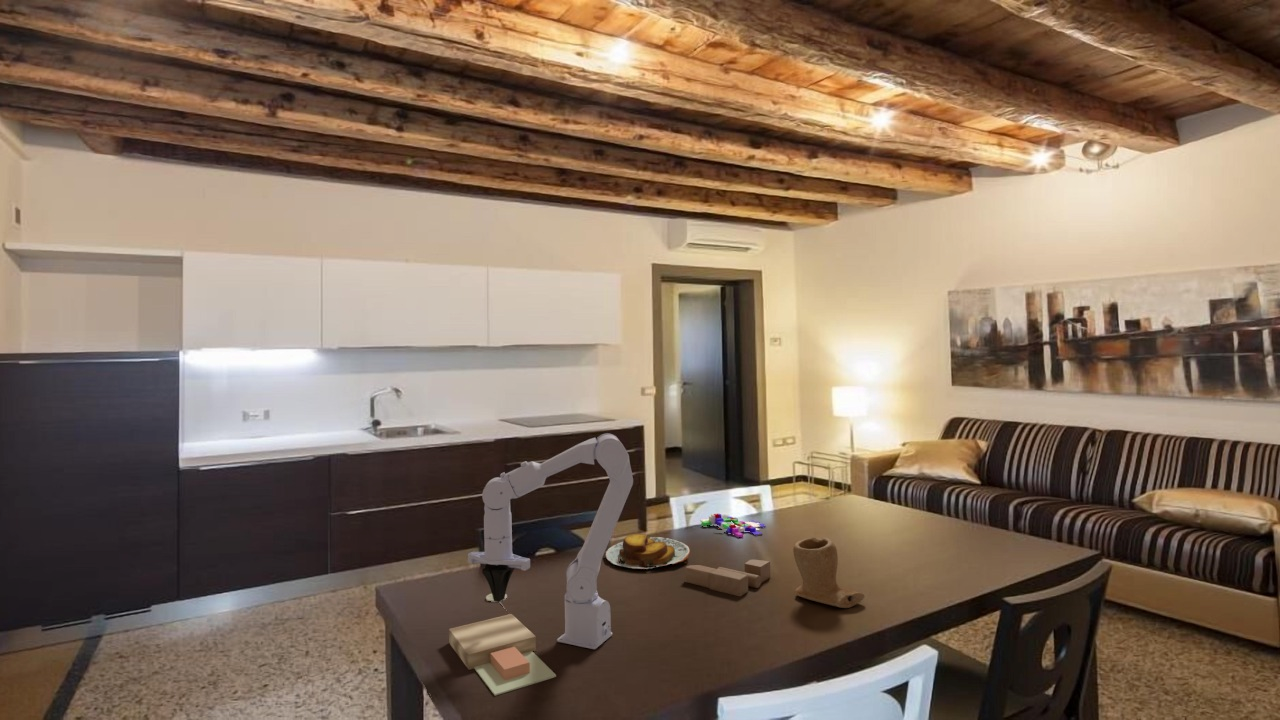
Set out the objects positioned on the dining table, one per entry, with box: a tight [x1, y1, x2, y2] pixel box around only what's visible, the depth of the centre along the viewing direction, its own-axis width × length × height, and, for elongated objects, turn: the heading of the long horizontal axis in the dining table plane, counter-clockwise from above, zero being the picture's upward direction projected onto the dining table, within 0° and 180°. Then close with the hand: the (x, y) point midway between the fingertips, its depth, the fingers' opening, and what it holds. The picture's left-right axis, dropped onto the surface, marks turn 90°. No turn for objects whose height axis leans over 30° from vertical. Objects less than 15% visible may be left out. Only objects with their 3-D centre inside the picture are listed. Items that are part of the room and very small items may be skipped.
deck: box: [448, 613, 537, 671], centre depth 132 cm, size 14×14×3 cm
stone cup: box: [793, 537, 865, 609], centre depth 153 cm, size 15×12×15 cm
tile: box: [490, 647, 530, 680], centre depth 122 cm, size 8×5×2 cm, turn 32°
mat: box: [473, 651, 557, 697], centre depth 121 cm, size 12×12×1 cm
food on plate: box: [604, 533, 691, 570], centre depth 188 cm, size 25×25×7 cm
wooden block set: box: [684, 558, 771, 597], centre depth 169 cm, size 17×6×18 cm
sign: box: [485, 593, 510, 615], centre depth 154 cm, size 5×1×15 cm
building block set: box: [699, 513, 767, 538], centre depth 221 cm, size 25×20×4 cm
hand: (499, 599), depth 133 cm, fingers closed
